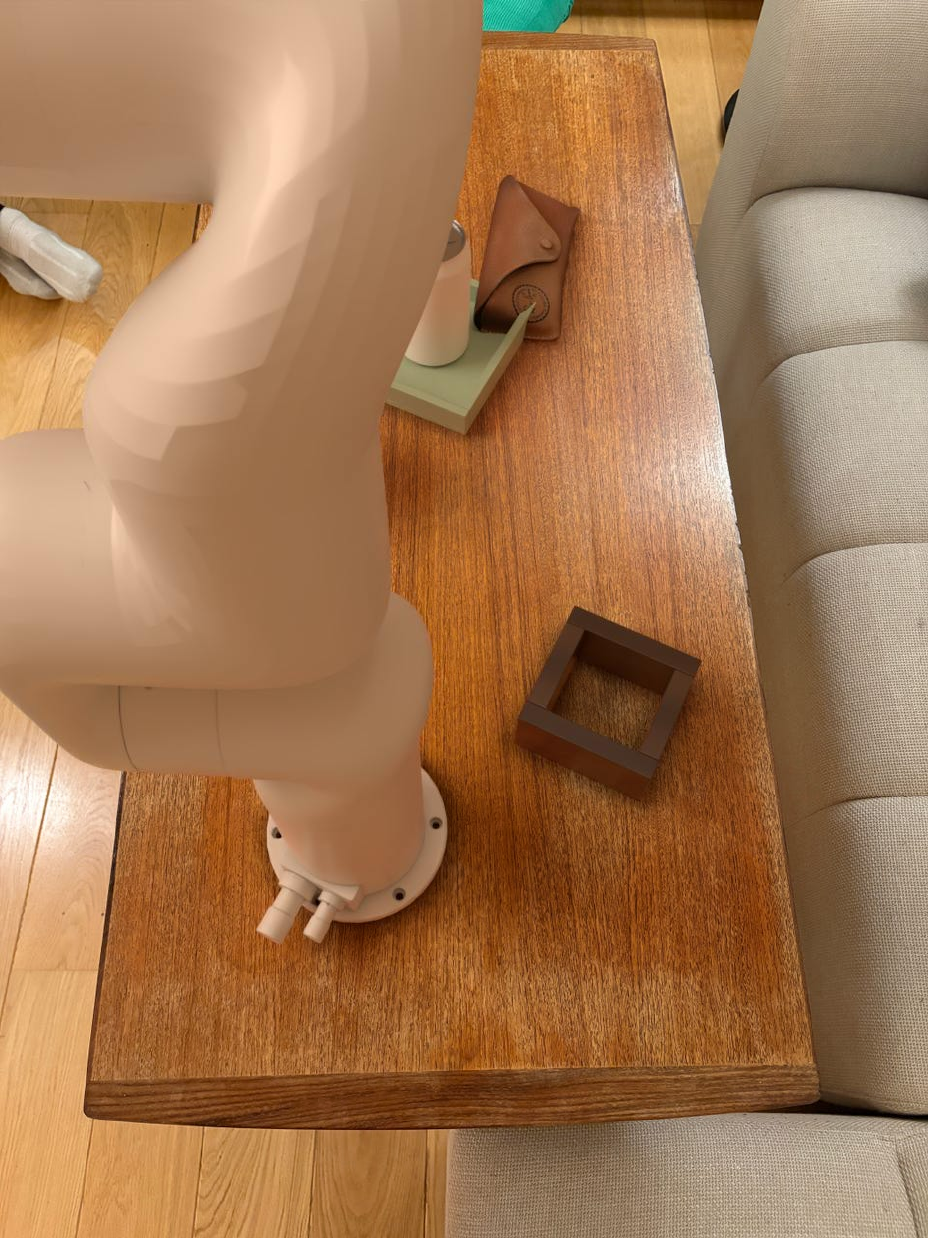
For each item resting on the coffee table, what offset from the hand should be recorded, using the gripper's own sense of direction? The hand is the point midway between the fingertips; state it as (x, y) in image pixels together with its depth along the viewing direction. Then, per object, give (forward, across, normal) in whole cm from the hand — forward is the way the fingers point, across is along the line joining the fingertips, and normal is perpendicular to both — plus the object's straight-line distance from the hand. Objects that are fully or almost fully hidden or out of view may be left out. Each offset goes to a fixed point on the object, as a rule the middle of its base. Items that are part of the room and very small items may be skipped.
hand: (389, 11), depth 67 cm
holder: (+30, +31, -27) cm, 51 cm away
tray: (+29, +3, -1) cm, 30 cm away
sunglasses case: (+29, +7, +12) cm, 32 cm away
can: (+29, +3, -1) cm, 29 cm away
